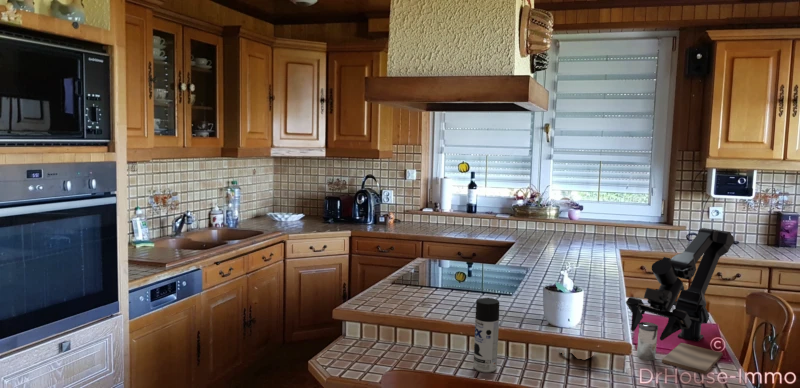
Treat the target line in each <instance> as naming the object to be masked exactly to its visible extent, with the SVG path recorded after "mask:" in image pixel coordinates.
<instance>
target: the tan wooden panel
mask: <svg viewBox="0 0 800 388" xmlns="http://www.w3.org/2000/svg"><path fill="white" fill-rule="evenodd" d="M721 356H722V357H723V352H721V351H717V350H716V351H715V350H712V349H709V348H704V347H700V346H696V345H693V344H688V343H684V342H680V343H679V344H678V345H676V347H674V348H673V349H672V350H671V351H670V352H669V353H667V354H666V355H665V356H664V357H663V358H662V359H661V363H663V364H667V365H669V366H670V365H671V366H674V367H677V368H681V369H684V370H689V371H692V372H696V373H699V374H703V375H706V374H708V372H709V371H710V370H711V369H712V368H713V367H714V366H715V364H717V363H718V361H719V360H720V359H721V358H722V357H721Z"/></svg>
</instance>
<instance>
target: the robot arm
mask: <svg viewBox="0 0 800 388" xmlns="http://www.w3.org/2000/svg"><path fill="white" fill-rule="evenodd" d="M734 240H735V238H734V236H733V235H732V233H731V231H726V230H722V229H721V230H720V229H714V228H708V227H707V228H706V227H701V228H699V230H698V232H697V235H695V237H694V238H693V239H692V241H691V242H690V243H689V244H688V246H687V247H686V248H685V249H684V251H683V252H681V253H677V254H676V255H674V256H673V257H671V258H670V257H666V256H663V257H662V258H661V259H659V260H656V261H655V262H654V263H652V265H651V271H652V272H653V275H654V276H655V279H656V280H657V282H658V283H659V284H660V286H659V287H658V288H656V289H653V288H650V287H646V290H645V292H644V295H643V299H646V300H647V303H648V304H649V305H647V304H645V303H644V301H643V300H642V299H640V298H637V297H633V296H630V297H628V298H627V299H626V301H625V304H626V305H627V307H628V308H629V310H630V312H631V315H632V316H631V327H630V330H631V332H634V331H635V330H636V329H637V327H639V323H641V322H642V319H643V318H644V316H643V315H644V314H645V313H646V312H647V313H650V314H653V315H657V316H660V317H664V318H667V320H668V321H667V323H666V325H665V326H664V329H663V330H662V332H661V334H660V335H659V336H660V337H659V340H660V341H664V340H666V339H667V338H668V337H670V336H671V335H673V334H674V333H676V332H678V331H680V330H681V332H680V333H679V334H677V337H678V338H681V339H686V340H689V341H693V342H696V343H697V342H700V340H702V339H703V338H704V334H701V332H702V325H703V324H708V321H709V319H710V314H709V312H708V309H707V307H706V306H707V301H706V298H705V297H706V296H705V295H706V292H707V289H708V287H709V285H710V281H711V279H712V278H713V275H714V273H715V270H716V268H717V265H718V262H719V261H720V258H722V257H723V256H724V255H725V254H727V253H728V252H729V250H730V249H731V247H732V246H733V245H734ZM700 258H701V259H700ZM699 260H700V262H699V264H698V267H697V265H696V264H697V263H698V261H699ZM681 279H683V280H686V281H687V280H688V281H689V280H691V279H692V281H691V283H690V286H689V287H688V288H687V289H685V285H684V282H683V281H682V280H681ZM673 307H675V308H674V309H673V310H672V308H673ZM671 310H672V311H671Z"/></svg>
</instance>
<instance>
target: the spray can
mask: <svg viewBox="0 0 800 388" xmlns="http://www.w3.org/2000/svg"><path fill="white" fill-rule="evenodd" d="M474 316H475V319H474V341H473V342H474V345H473V347H474V348H473V365H472V366H473V368H474V370H475V371H477V372H480V373H484V374H489V373H494V372H496V370H497V367H498V350H499V348H498V347H499V344H498V343H499V327H500V325H499V324H500V301H499V300H498V299H496V298H492V297H482V298H478V299H476V303H475V315H474Z"/></svg>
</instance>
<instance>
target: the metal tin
mask: <svg viewBox="0 0 800 388" xmlns="http://www.w3.org/2000/svg"><path fill="white" fill-rule="evenodd" d="M658 330H659V325H658V324H656V323H654V322H649V321H640V323H639V324H638V334H637V336H638V337H637V349H636V350H637V351H636V356H637V358H639V359H640V360H644V361H654V360H656V352H657V343H658V342H657V341H658Z"/></svg>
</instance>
